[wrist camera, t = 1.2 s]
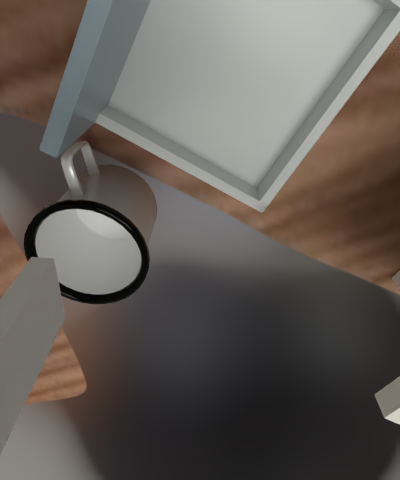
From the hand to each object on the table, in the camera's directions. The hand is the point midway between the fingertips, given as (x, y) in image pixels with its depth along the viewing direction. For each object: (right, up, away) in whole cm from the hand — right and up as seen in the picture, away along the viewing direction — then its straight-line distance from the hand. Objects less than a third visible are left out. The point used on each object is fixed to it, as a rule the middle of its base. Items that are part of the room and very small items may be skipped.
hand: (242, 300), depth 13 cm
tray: (+1, +16, +15) cm, 22 cm away
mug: (-10, +7, +22) cm, 25 cm away
